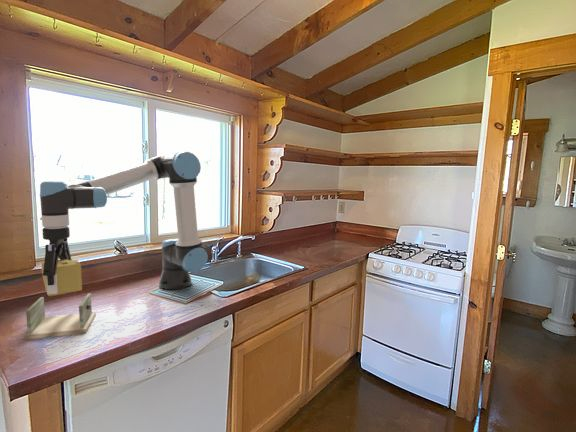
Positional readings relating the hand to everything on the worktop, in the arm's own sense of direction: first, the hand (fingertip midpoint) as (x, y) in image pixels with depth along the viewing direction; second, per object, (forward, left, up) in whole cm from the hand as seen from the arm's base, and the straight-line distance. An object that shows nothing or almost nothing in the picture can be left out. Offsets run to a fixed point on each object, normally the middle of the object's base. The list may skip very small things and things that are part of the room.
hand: (59, 286), depth 114 cm
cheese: (-1, 0, -1) cm, 2 cm away
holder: (0, 0, -15) cm, 15 cm away
